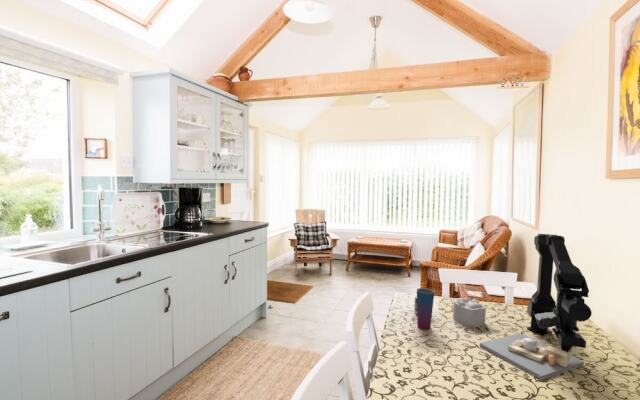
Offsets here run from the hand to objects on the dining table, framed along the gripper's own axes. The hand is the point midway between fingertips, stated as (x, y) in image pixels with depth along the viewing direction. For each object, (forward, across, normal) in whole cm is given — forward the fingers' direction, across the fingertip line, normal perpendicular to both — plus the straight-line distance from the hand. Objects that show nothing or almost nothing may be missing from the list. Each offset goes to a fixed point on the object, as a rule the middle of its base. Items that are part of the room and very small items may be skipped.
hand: (563, 354), depth 110 cm
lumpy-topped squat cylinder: (+4, -24, -29) cm, 38 cm away
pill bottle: (+4, -23, -48) cm, 53 cm away
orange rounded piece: (+2, +6, -5) cm, 8 cm away
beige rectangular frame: (+2, 0, -7) cm, 7 cm away
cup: (+3, -8, -45) cm, 46 cm away
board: (+3, -1, -9) cm, 10 cm away
